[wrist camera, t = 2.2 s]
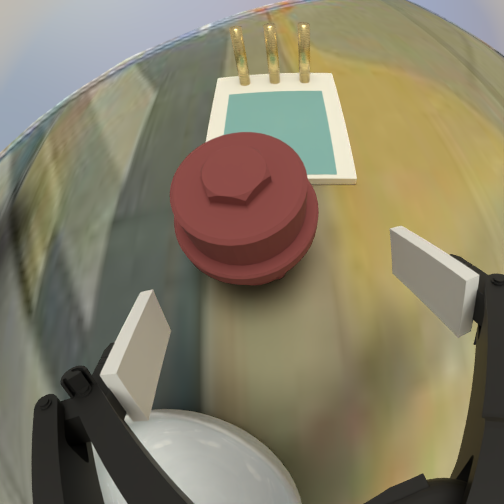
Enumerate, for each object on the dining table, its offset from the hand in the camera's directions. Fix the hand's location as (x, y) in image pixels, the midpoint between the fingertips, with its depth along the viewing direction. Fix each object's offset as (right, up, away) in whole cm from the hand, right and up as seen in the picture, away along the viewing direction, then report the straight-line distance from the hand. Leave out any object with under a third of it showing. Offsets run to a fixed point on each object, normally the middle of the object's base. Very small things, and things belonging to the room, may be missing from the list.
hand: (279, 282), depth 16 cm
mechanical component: (-1, +1, +12) cm, 13 cm away
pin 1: (-2, +24, +21) cm, 32 cm away
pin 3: (+6, +24, +20) cm, 32 cm away
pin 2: (+2, +24, +21) cm, 32 cm away
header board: (+2, +17, +19) cm, 25 cm away
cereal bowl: (-6, -19, +5) cm, 20 cm away
